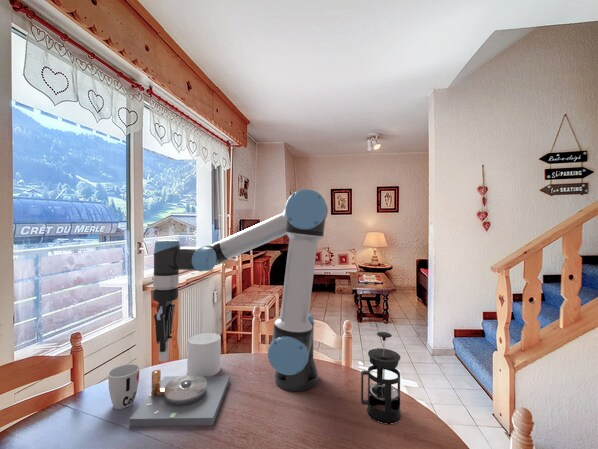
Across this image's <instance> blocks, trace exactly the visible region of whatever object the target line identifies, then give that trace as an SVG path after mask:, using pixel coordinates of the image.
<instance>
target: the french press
mask: <svg viewBox="0 0 598 449" xmlns="http://www.w3.org/2000/svg"><path fill="white" fill-rule="evenodd" d="M376 336H377V337H380V338H382V341H383V344H382V346H383V348H382V347H381V348H372V349H370V350H368V351H367V356H368V357H369V362H370V364H371V365H370V366H369V367H368V368H367V370H361V372H360V402H361V404H362V405H363V406H364V405H366V413H368V414H367V415H369V416H370V417H371V418H372V419H371V420H373V419H374V420H376V421H379V422H382V423H387V424H386V425H388V424H389V425H392V424H391V423H395V422H397V421H399V420H400V421H401V419H400V418H402V414H401V372H400V371H399V370H398V369H397V367H398V365H399V361H401V355H400V354H399V353H398V352H396V351H395V350H391V349H387V348H385V346H386V344H385V341H386V340H387V339H389V338H391V337H392V334H391V333H389V332H386V331H379V332H376ZM374 370H376V376H375V375H373V374H372V373H371V371H374ZM385 371H389V372H392V373H394V374H395V375H397V377H395V378H392V379H391V378H389V379H386V378H385ZM365 375H366V376H367V399H364V376H365ZM370 380H371V381H372V382H375V383H373V384H370V383H371V381H370ZM396 384H397V388H396V387H394V386H392V385H396ZM376 406H383V407H384V410H381V409H378V408H375V407H376ZM369 416H368V417H369ZM370 417H369V418H370ZM374 420H373V421H374ZM376 421H375V422H376ZM400 421H399V422H400ZM397 423H398V422H397ZM395 424H396V423H395Z"/></svg>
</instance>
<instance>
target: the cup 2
mask: <svg viewBox="0 0 598 449" xmlns="http://www.w3.org/2000/svg"><path fill="white" fill-rule="evenodd" d="M221 345H222V337H221V335H220V334H218V333H216V332H200V333H196V334H194V335H193V334H192V336H189V338H188V339H187V346H186V347H187V349H186V350H187V351H186V352H187V353H186V354H187V355H186V358H187V359H186V374H187V375H200V376H217V374H218V373H219V372H220V371H221V362H222V361H221V357H222V356H221V355H222V354H221V353H222V352H221V350H222V348H221Z"/></svg>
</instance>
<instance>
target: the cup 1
mask: <svg viewBox="0 0 598 449" xmlns="http://www.w3.org/2000/svg"><path fill="white" fill-rule="evenodd" d="M107 380H108V381H107V382H108V392H109V396H110V400H111V403H112V406H113V408H114V409H115V410H122V408H124V409H127V408H129V407H130V406H132V405H133V404H134V401H135V398H136V395H137V391H138V386H139V382H140V365H139V364H135V363H128V364H122V365H119V366H115V367H113V368H112V369H111V370H110V371H108V373H107ZM128 406H129V407H128ZM126 407H127V408H126Z"/></svg>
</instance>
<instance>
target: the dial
mask: <svg viewBox="0 0 598 449" xmlns="http://www.w3.org/2000/svg"><path fill="white" fill-rule="evenodd" d="M161 372H162V371H161V369H155V370H152V372H151V391H150V393H151V395H153V396H155V395H164V399H165V401H166V402H167V403H169V404H173V405H184V404H189V403H192V402H195V401H197V400H199V399H200V398H202V397H203V396H204V395H205V394H206V391H207V380H206V379H205V378H204V377H203V376H200V375H188V374H187V375H182V376H181V375H180V376H181V377H178V378H175V379H173V380H171V381H170V382H169V383H167V384H166V386H165V388H160V382H161V380H162V379H161Z"/></svg>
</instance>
